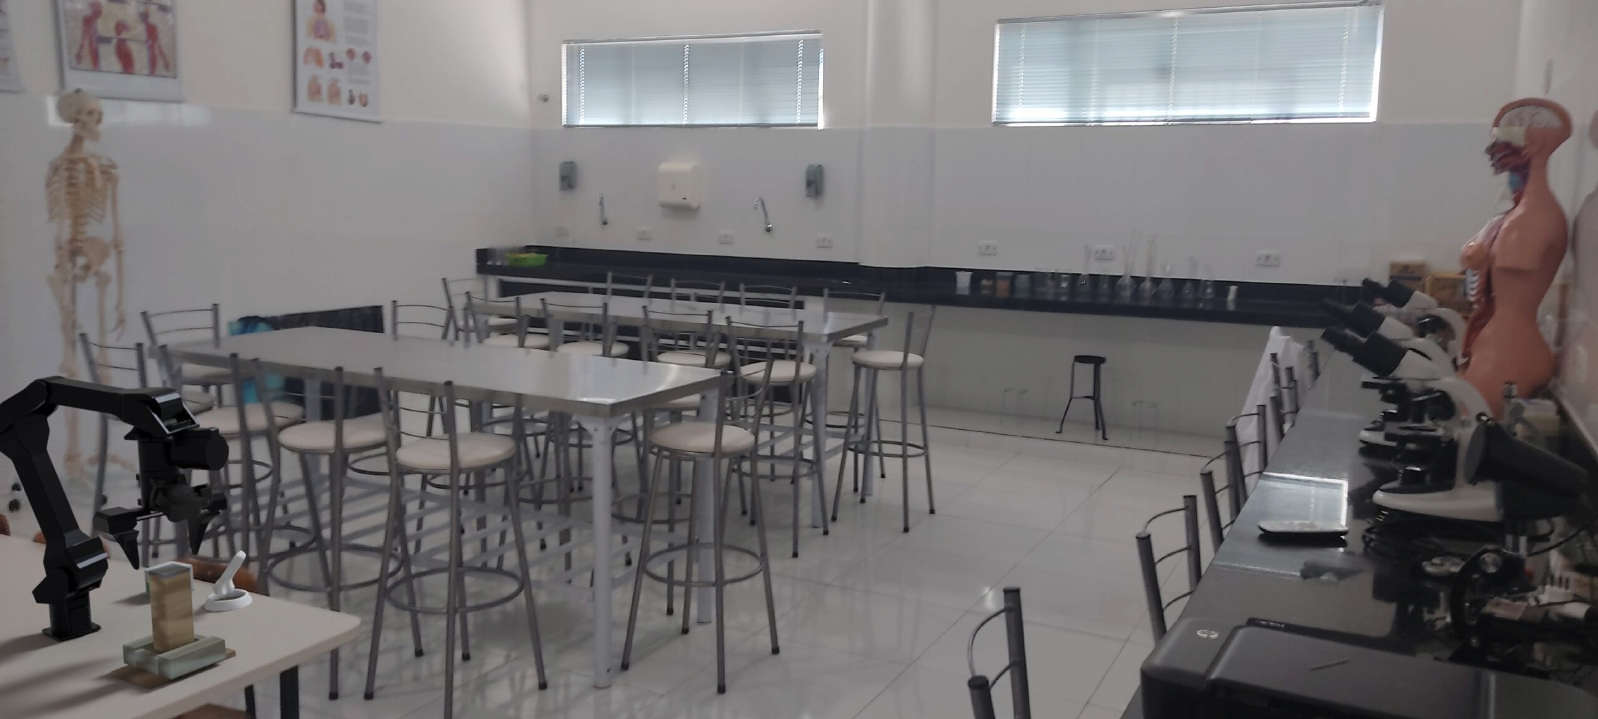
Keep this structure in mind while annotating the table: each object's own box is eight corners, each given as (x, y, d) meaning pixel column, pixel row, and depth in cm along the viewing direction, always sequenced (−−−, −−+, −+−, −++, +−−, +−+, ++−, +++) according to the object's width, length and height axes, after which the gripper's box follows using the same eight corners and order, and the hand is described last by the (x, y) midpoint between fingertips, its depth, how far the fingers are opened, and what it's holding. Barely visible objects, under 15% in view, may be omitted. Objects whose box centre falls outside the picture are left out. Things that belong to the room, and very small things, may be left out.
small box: (144, 595, 204) (142, 568, 203) (173, 585, 209) (171, 559, 208) (167, 599, 202) (165, 573, 201) (195, 589, 207) (193, 563, 206)
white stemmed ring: (264, 584, 195) (226, 564, 193) (230, 633, 198) (193, 614, 196) (279, 561, 202) (242, 542, 200) (246, 609, 205) (210, 590, 203)
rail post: (154, 662, 173) (148, 570, 171) (179, 653, 176) (173, 563, 174) (170, 667, 171) (164, 575, 169) (195, 658, 174) (189, 567, 172)
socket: (107, 674, 170) (105, 650, 170) (194, 642, 183) (192, 620, 182) (154, 690, 165) (153, 665, 164) (241, 656, 177) (239, 633, 177)
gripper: (123, 487, 168) (130, 588, 170) (244, 463, 183) (249, 556, 185) (87, 476, 174) (95, 573, 176) (207, 454, 189) (213, 544, 191)
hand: (166, 561), depth 182 cm, fingers open, 9 cm apart
